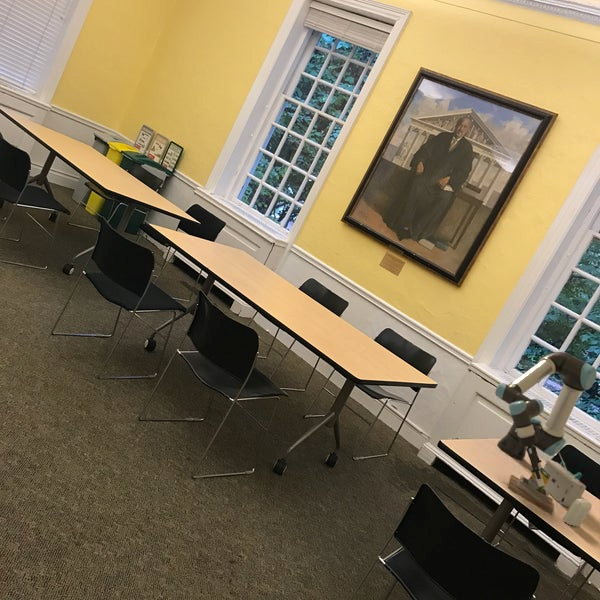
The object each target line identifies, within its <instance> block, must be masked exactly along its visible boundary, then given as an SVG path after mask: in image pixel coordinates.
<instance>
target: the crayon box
mask: <svg viewBox="0 0 600 600" xmlns="http://www.w3.org/2000/svg"><path fill="white" fill-rule="evenodd" d="M543 468H544V467H541V469H540V472H541V475H542V478H543V481H544V484H545V485H546V483H547V482H548V480H549V478H550V475H549V474H548V473H547V472H546V471H545V470H544V469H543ZM543 471H544V472H546V474H547V475H545V474H544V473H543ZM526 484H527V485H529V486H530V487H532V488H534V489H535V490H537V491H539V492H540V493H541V492H542V490H543V489H544V487H545V486H538V483H537V480H536V477H535V474H534V472H531V475H530V476H529V478H528V482H527V483H526Z"/></svg>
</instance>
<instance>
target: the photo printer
mask: <svg viewBox="0 0 600 600" xmlns="http://www.w3.org/2000/svg"><path fill="white" fill-rule="evenodd" d="M592 507H593V506H592V503H591V502H590V501H589V500H587V499H586V498H580V499H577V500H575V501H574V502H573V503H572V505H571V506H570V507H568V509H567V511H566V513H565V515H564V516H563V518H562V521H563V520H564V521H563V522H564V523H565V522H566V523H567V524H566V523H565V524H566V525H568V524H569V525H568V526H571V525H573V527H581V526H582V524H583V522H584V521H585V520H586V518H587V516H588V515H589V513H590V512H591V510H592Z"/></svg>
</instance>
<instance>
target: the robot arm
mask: <svg viewBox="0 0 600 600" xmlns="http://www.w3.org/2000/svg"><path fill="white" fill-rule="evenodd" d="M597 373H598V372H597V368H595V366H593V365H591V364H589V362H586V361H584V360H582V359H580V358H579V357H575V356H574V355H572V354H570V353H568V352H565V351H556V352H551V353H547V354H546V355H544V356H542V357H541V358H540V359H538V362H537V363H536V364H534V365H533V366H532V367H531V368H529V369H528V370H527V371H525V372H523V373H522V374H521V375H520V376H519V377H516V378H515V380H513V381H512V382H510V383H508V384H507V383H505V382H500V383H499V384H498V386H497V387H496V389H495V391H494V393H495V396H496V397H498V399H500V401H501V400H502V401H503V402H505V403H506V404H508V410H509V413H510V414H509V415H511V419H512V422H513V423H512V425H511V427H510V428H509V430H508V432H507V434H505V436H503V437H502V438H501V439H499V441H498V442H497V447H498V448H499V449H500V450H501V451H502V452H504V453H505V454H507V455H508V456H510V457H512V458H514V459H515V460H516V459H517V460H519V461H524V459H525V457H526V454H527V455H528V458H529V461H530V464H531V468H532V470H531V473H533V472H534V474H535V477H536V480H537V483H538V486H545V484H544V481H543V478H542V475H541V472H540V469H541V467H542V460H541V459H540V457H539V454H538V451H537V449H538V450H540V451H541V452H543V454H546V455H548V456H549V457H553V456H555V455H556V454H559V452H560V450H562V449H563V448H564V446H565V444H566V442H567V441H566V439H565V438H564V436H565V432H564V429H565V426H566V424H567V422H568V420H569V418H570V416H571V413H572V412H573V409H574V407H575V405H576V403H577V402H578V399H579V397H580V395H581V393H584V392H585V391H586V390H589V389H591V388H592V387H593V384H594V383H595V381H596V378H597ZM553 374H558V375H559V376H562V379H561V383H562V387H561V390H560V392H559V394H558V396H557V399H556V400H555V402H554V405H553V407H552V409H551V411H550V413H549V416H548V418H547V420H546V422H543V423H542V420H540V419H539V418H538V416H539V415H541V414H542V413H543V412H544V409H545V406H544V404H543V402H542V401H541V400H540V399H538V398H532V399H531V398H530V397H528V396H526V395H524V394H525V393H526V392H528V391H529V390H530V389H531V388H533V387H534V386H535V385H537V384H538V383H540V382H541V381H542V380H543V379H544V378H546V377H547V376H551V375H553ZM557 449H558V450H557ZM558 451H559V452H558ZM526 452H527V453H526ZM542 468H543V467H542ZM543 473H544V472H543Z"/></svg>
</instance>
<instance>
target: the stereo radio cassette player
mask: <svg viewBox="0 0 600 600" xmlns="http://www.w3.org/2000/svg"><path fill="white" fill-rule="evenodd" d="M557 450H558V449H557ZM558 454H559V457H560V459H561V462H563V464H564V462H565V461H564V460H563V458H562V456H561V453H560V451H558ZM542 468H543V469H544V470H545V471H546V472H547V473H548V474H549V475H550V478H549V480H548V482H547V483H546V485H545V487H544V488H543V489H545V490H547V491H548V492H549V495H551V496H552V498H553V499H555V500H556V502H558V503H559V505H560V506H564V507H567V508H570V506H571V505H572V503H573V502H574V501H575V500H577V499H582V498H581V497H582V495H583V494H584V493H585V491H586V489H587V485H585V484H584V483H582V482H581V481H580V479H579V480H578V479H577V478H575V477H574V476H573V475H574V474H573V473H572V472H571V473H572V474H573V475H572V474H571V473H569V472H570V471H569V470H568V469H567V467H566V463H565V464H564V468H563V467H562V466H561V465H560V463H559V462H557V461H554V460H552V459H549V458H548V459H547V460H546V461H545V464H544V466H543V467H542ZM567 470H568V471H569V472H568V471H567ZM543 472H544V471H543ZM546 472H544V474H545V475H547V474H546Z"/></svg>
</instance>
